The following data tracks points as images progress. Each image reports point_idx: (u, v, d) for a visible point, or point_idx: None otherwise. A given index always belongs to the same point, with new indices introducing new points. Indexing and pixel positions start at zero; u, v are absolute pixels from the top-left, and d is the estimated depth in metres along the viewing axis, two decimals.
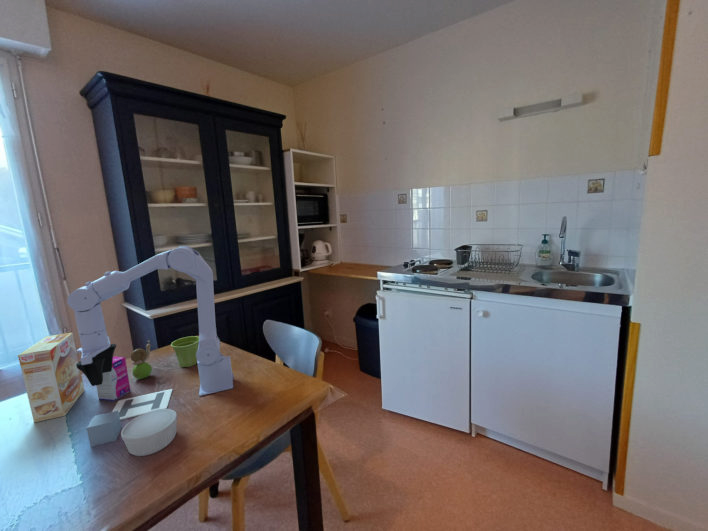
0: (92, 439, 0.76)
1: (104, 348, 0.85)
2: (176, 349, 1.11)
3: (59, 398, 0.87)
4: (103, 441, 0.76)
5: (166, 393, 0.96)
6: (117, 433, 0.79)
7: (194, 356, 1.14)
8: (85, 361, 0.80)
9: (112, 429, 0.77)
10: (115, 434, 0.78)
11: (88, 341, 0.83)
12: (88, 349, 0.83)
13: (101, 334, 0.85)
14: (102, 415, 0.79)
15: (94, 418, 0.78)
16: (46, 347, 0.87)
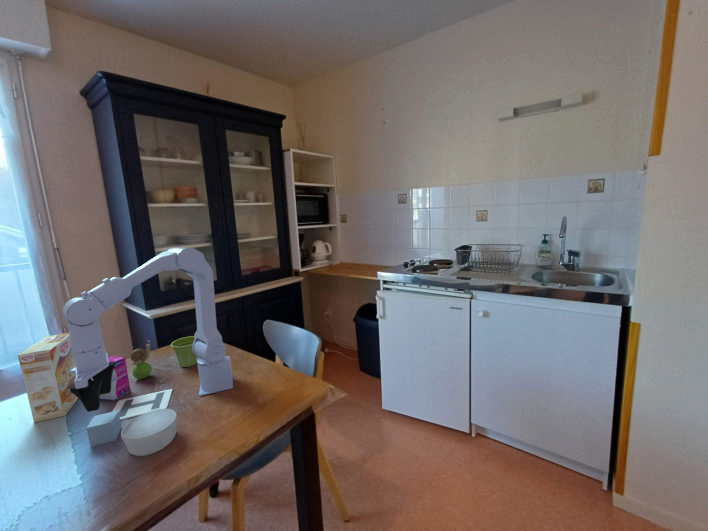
0: (92, 439, 0.76)
1: (102, 368, 0.75)
2: (176, 349, 1.11)
3: (59, 398, 0.87)
4: (103, 441, 0.76)
5: (166, 393, 0.96)
6: (117, 433, 0.79)
7: (194, 356, 1.14)
8: (80, 384, 0.69)
9: (112, 429, 0.77)
10: (115, 434, 0.78)
11: (84, 361, 0.73)
12: (83, 369, 0.73)
13: (99, 352, 0.74)
14: (102, 415, 0.79)
15: (94, 418, 0.78)
16: (46, 347, 0.87)
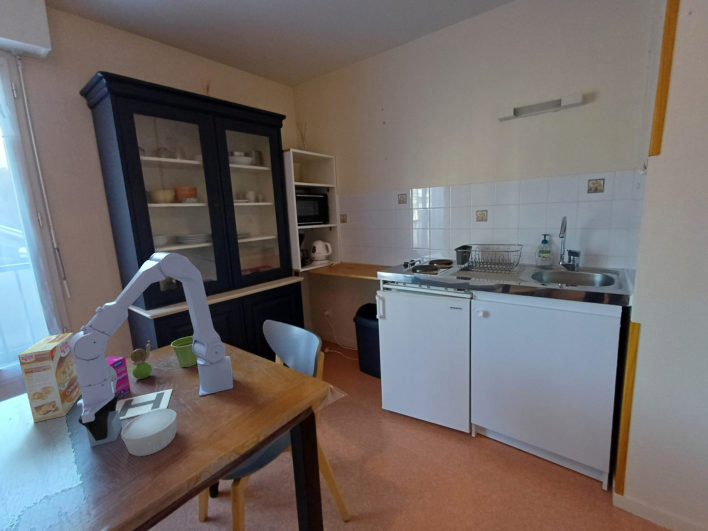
0: (92, 439, 0.75)
1: (108, 400, 0.76)
2: (177, 349, 1.11)
3: (59, 398, 0.87)
4: (103, 441, 0.76)
5: (166, 393, 0.96)
6: (117, 433, 0.79)
7: (194, 356, 1.14)
8: (87, 418, 0.70)
9: (112, 429, 0.77)
10: (115, 434, 0.78)
11: (90, 394, 0.74)
12: (90, 402, 0.74)
13: (105, 384, 0.76)
14: None
15: None
16: (46, 347, 0.87)
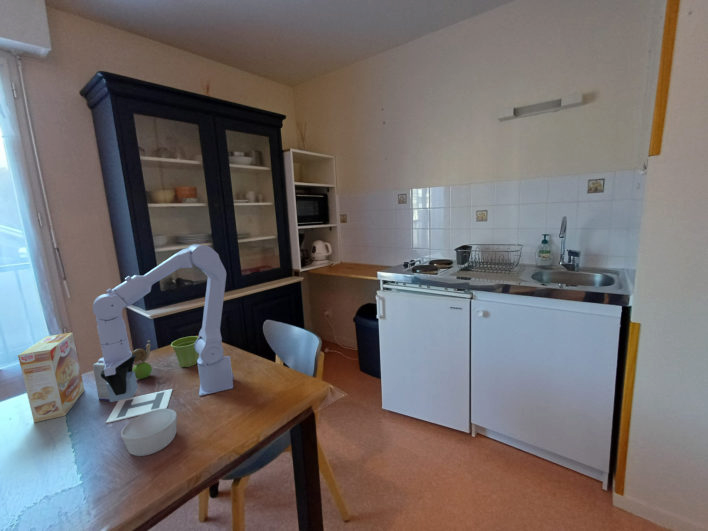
0: (111, 395, 0.82)
1: (126, 358, 0.82)
2: (176, 349, 1.11)
3: (59, 398, 0.87)
4: (122, 397, 0.83)
5: (166, 393, 0.96)
6: (134, 391, 0.85)
7: (194, 356, 1.14)
8: (109, 372, 0.77)
9: (130, 386, 0.83)
10: (132, 391, 0.84)
11: (111, 351, 0.80)
12: (110, 359, 0.81)
13: (123, 343, 0.82)
14: None
15: None
16: (46, 347, 0.87)
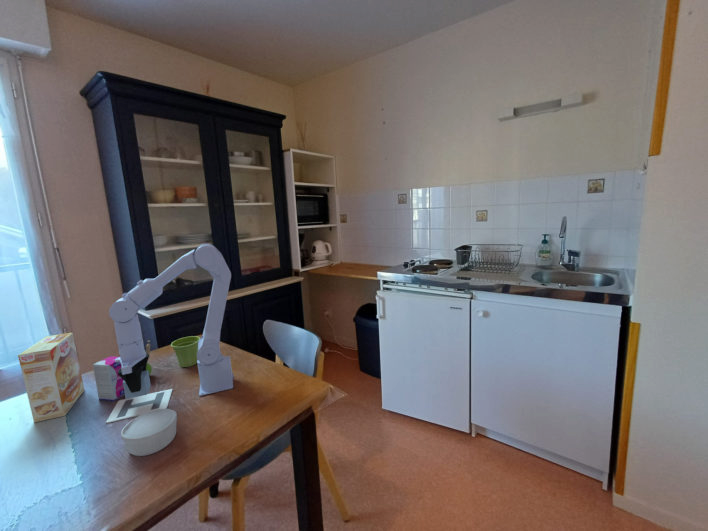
0: (127, 392, 0.88)
1: (141, 358, 0.88)
2: (176, 349, 1.11)
3: (59, 398, 0.87)
4: (136, 394, 0.88)
5: (166, 393, 0.96)
6: (148, 389, 0.91)
7: (194, 356, 1.14)
8: (126, 370, 0.83)
9: (144, 384, 0.89)
10: (146, 389, 0.90)
11: (127, 351, 0.86)
12: (127, 359, 0.86)
13: (139, 344, 0.88)
14: None
15: None
16: (46, 347, 0.87)
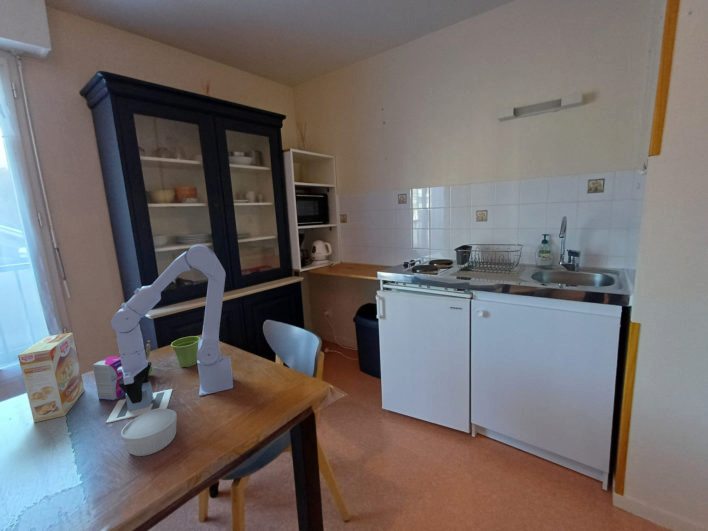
0: (130, 404, 0.88)
1: (143, 367, 0.89)
2: (176, 349, 1.11)
3: (59, 398, 0.87)
4: (139, 407, 0.89)
5: (166, 393, 0.96)
6: (150, 401, 0.92)
7: (194, 356, 1.14)
8: (128, 380, 0.83)
9: (146, 396, 0.89)
10: (149, 401, 0.90)
11: (129, 361, 0.86)
12: (129, 368, 0.87)
13: (140, 354, 0.88)
14: None
15: None
16: (46, 347, 0.87)
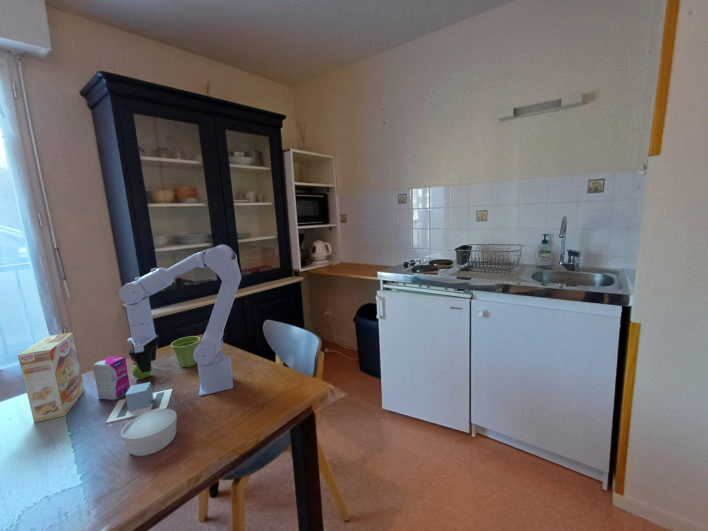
0: (130, 404, 0.88)
1: (152, 338, 0.93)
2: (176, 349, 1.11)
3: (59, 398, 0.87)
4: (139, 407, 0.89)
5: (166, 393, 0.96)
6: (150, 401, 0.92)
7: None
8: (138, 349, 0.87)
9: (146, 396, 0.89)
10: (149, 401, 0.90)
11: (139, 332, 0.90)
12: (138, 339, 0.91)
13: (149, 325, 0.92)
14: (137, 385, 0.92)
15: (130, 387, 0.91)
16: (46, 347, 0.87)
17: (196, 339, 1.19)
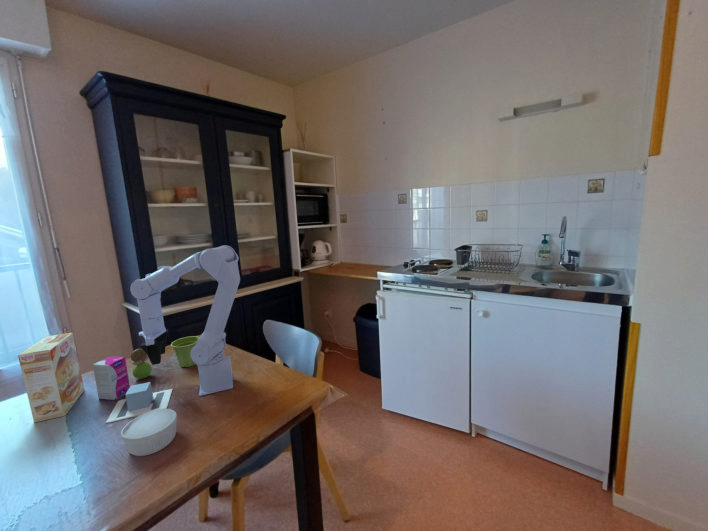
0: (130, 404, 0.88)
1: (162, 332, 0.97)
2: (177, 349, 1.11)
3: (59, 398, 0.87)
4: (139, 407, 0.89)
5: (166, 393, 0.96)
6: (150, 401, 0.92)
7: None
8: (149, 342, 0.92)
9: (146, 396, 0.89)
10: (149, 401, 0.90)
11: (149, 326, 0.95)
12: (149, 332, 0.95)
13: (159, 319, 0.97)
14: (137, 385, 0.92)
15: (130, 387, 0.91)
16: (46, 347, 0.87)
17: (196, 339, 1.19)
